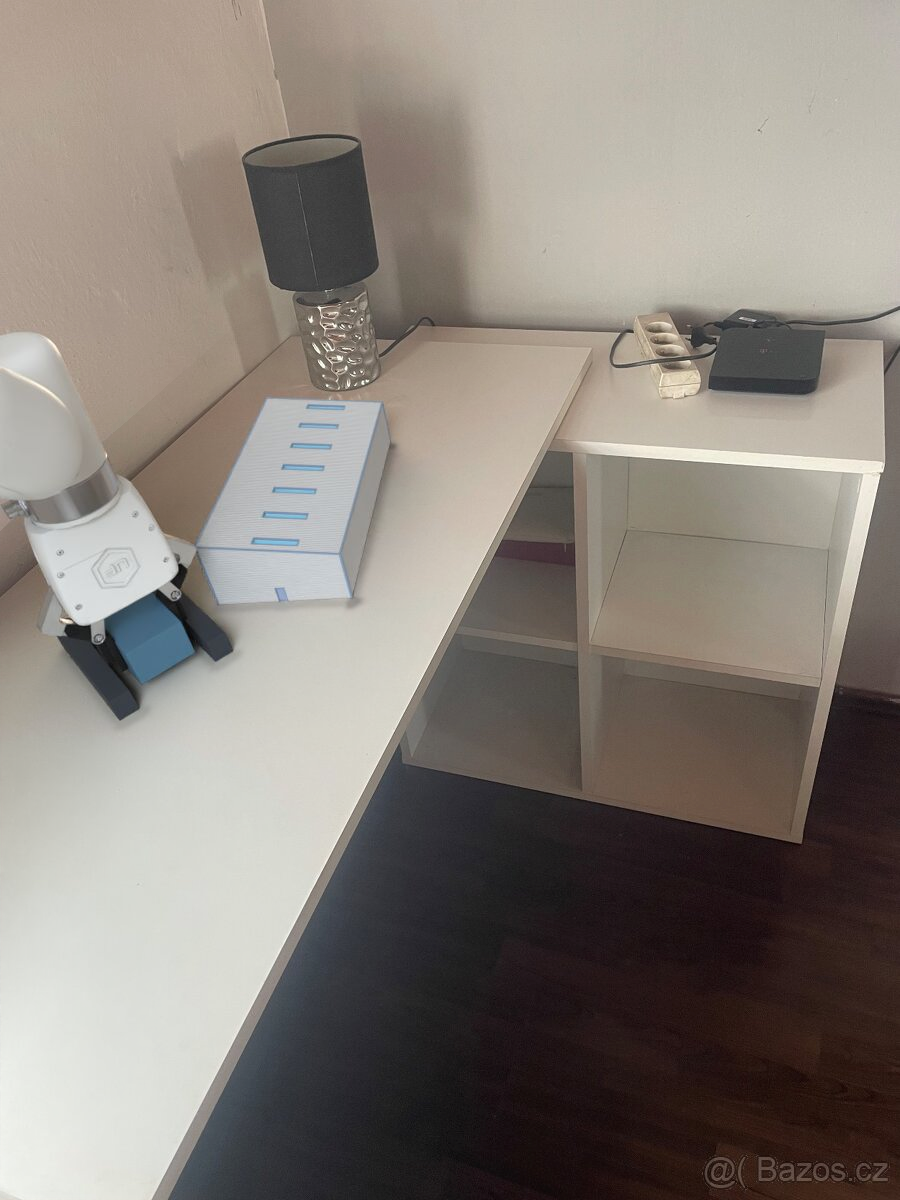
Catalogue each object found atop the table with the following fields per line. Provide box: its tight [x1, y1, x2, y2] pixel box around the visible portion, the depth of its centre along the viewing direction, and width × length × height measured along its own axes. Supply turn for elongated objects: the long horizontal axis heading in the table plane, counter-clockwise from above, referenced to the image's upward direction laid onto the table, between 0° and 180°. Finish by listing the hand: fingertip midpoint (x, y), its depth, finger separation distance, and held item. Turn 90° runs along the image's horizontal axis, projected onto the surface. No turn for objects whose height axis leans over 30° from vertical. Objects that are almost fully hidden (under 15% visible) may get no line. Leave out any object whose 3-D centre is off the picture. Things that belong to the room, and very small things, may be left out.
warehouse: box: [193, 396, 392, 606], centre depth 97 cm, size 30×14×8 cm, turn 175°
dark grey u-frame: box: [56, 589, 234, 721], centre depth 85 cm, size 12×14×2 cm
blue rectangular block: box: [104, 593, 196, 685], centre depth 81 cm, size 6×8×4 cm
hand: (149, 644), depth 82 cm, fingers closed on blue rectangular block, 5 cm apart
